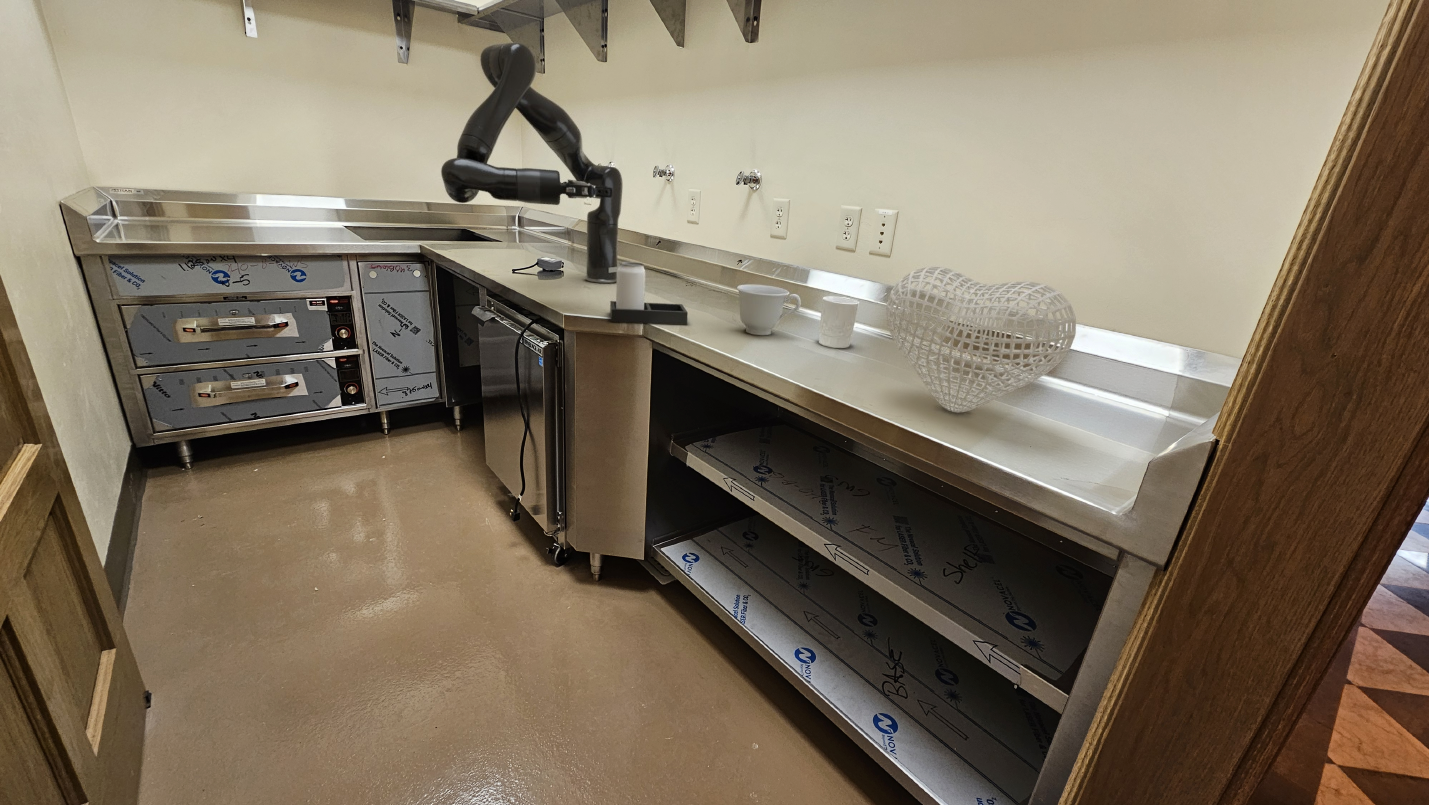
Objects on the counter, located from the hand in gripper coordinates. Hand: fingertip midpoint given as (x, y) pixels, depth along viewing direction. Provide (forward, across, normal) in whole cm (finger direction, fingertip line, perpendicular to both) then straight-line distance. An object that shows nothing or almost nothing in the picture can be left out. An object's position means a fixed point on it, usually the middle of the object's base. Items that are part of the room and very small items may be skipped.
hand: (609, 191), depth 143 cm
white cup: (+46, -34, +28) cm, 64 cm away
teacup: (+33, -24, +28) cm, 50 cm away
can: (+4, -12, +27) cm, 30 cm away
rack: (+8, -12, +28) cm, 31 cm away
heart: (+47, -75, +28) cm, 93 cm away
